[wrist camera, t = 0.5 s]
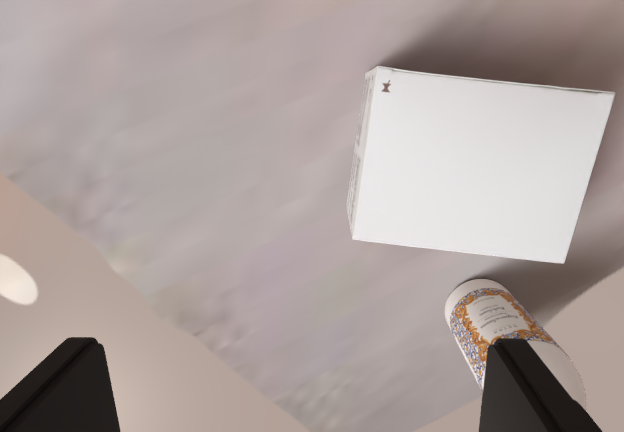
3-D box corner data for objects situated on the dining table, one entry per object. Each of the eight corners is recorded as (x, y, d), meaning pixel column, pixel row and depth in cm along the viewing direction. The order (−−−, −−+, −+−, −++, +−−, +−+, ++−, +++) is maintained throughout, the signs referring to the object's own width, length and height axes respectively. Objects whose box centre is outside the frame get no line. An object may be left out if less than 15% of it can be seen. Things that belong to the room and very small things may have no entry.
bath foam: (502, 267, 41) (649, 413, 22) (518, 325, 43) (668, 507, 24) (435, 288, 42) (520, 445, 23) (453, 344, 44) (547, 533, 25)
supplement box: (345, 210, 41) (349, 242, 32) (364, 71, 37) (375, 62, 28) (515, 231, 41) (567, 268, 32) (551, 92, 37) (622, 90, 28)
